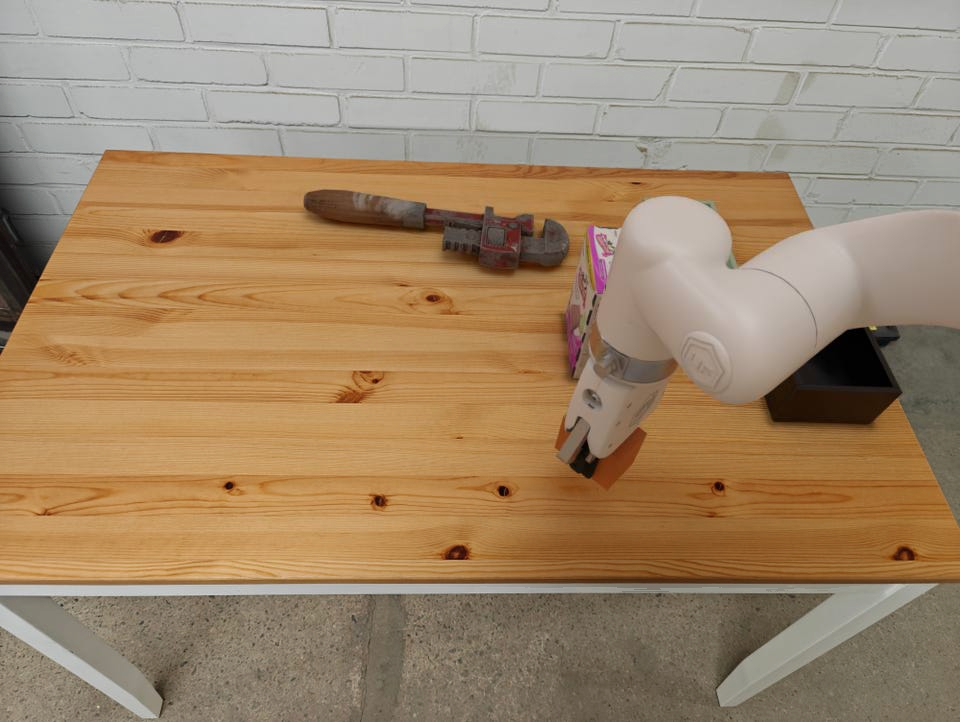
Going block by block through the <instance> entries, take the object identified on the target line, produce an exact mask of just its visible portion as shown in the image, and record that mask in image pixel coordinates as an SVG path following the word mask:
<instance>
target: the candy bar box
mask: <svg viewBox="0 0 960 722" xmlns="http://www.w3.org/2000/svg"><path fill="white" fill-rule="evenodd" d="M621 228H622V227H612V226H611V227H610V226H601V227H600V226H598V225H589V226H587V225H586V228H585V233H584V237H583V241H582V246H581V250H580V254H579V258H578V262H577V267H576V272H575V276H574V280H573V283H572V284H573V285H572V288H571V292H570V296H569V300H568V305H567V308H566V312H565V323H566V325H565V326H566V334H567V345H568V346H567V347H568V355H569V356H568V357H569V368H570V379H573V380H579V379H580V376H581V374H582V372H583V370H584V368H585V365H586V363H587V361H588V359H589V357H590V353H589V339H590V335H591V332H592V329H593V325H594V322H595V318H596V315H597V311H598V308H599V304H600V301H601V297H602V294H603V290H604V287H605V283H606V280H607V276H608V273H609V269H610V266H611V262H612V259H613V255H614V252H615V248H616V245H617V242H618V238H619V235H620V231H621Z"/></svg>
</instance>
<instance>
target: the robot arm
mask: <svg viewBox="0 0 960 722" xmlns="http://www.w3.org/2000/svg"><path fill="white" fill-rule="evenodd" d="M650 198H651V199H648V200H646V201H644V202H640V203H639V204H637V205H636V206H635V207H633V208H632V209H631V211H630V212H629V213H628V215H627V216H626V217H625V219H624V221H623V223H622V226H621V227H620V228H621V231H620V235H619V238H618V242H617V245H616V248H615V252H614V255H613V259H612V262H611V266H610V269H609V273H608V276H607V280H606V283H605V287H604V290H603V294H602V297H601V301H600V304H599V308H598V311H597V315H596V318H595V322H594V325H593V329H592V332H591V335H590V339H589V353H590V357H589V359H588V361H587V363H586V365H585V368H584V370H583V372H582V374H581V376H580V379H578V381H577V383H576V386H575V388H574V391H573V394H572V397H571V399H570V401H569V405H568V408H567V411H566V413H565V414H566V419H565V431H566V432H571V431H572V432H571V433H570V435H569V437H568V438H567V440H566V441H565V443H564V444H563V446H562V447H561V449H560V450H559V451H558V452H557V453H556V455H555V457H556V458H557V459H558V460H559V461H561V462H562V463H563V464H564V465H566V466H569V467H570V469H571V470H572V471H573V472H575V473H576V474H579V475H580V474H581V475H582V476H583V477H585V478H586V479H587V480H590V479H592V478H591V477H592V476H593V474H594V472H595V469H596V466H597V464H598V461H599V459H600V458H605V457H607V456H609V455H610V454H611V453H612V452H613V451H614V450H615V449H617V448H618V447H619V446H620V445H621V444H622V443H623V442H624V441H625V440H626V439H627V438H628V437H629V436H630V435H631V434H632V433H633V432H634V431H635V430H636V429H637V428H638V427H639V428H640V426H641V425H642V424H643V423H644V422H645V420H647V419H648V418H649V417H650V416H651V415H652V414H653V412H654V411H655V410H656V409H657V408H658V406H659V405H660V404H661V402H662V400H663V397H664V395H665V392H666V390H667V387H668V385H669V383H670V380H671V378H672V376H673V375H674V374H675V373H676V371H677V368H678V366H679V367H680V369H681V370H682V371H683V372H684V374H685V375H686V376H687V377H688V378H689V379H690V380H691V382H692V383H693V384H694V385H695V386H696V387H697V388H698V389H700V390H701V391H702V392H703V393H704V394H705V395H707V396H709V397H710V398H711V399H713V400H715V401H717V402H719V403H722V404H726V405H731V406H742V405H747V404H751V403H754V402H756V401H758V400H759V399H761V398H764V397H765V395H766V394H768V393H769V392H770V391H772V390H773V389H774V388H775V387H777V386H778V385H779V384H780V383H781V382H783V381H784V380H785V379H786V378H788V377H789V376H790V375H791V374H792V373H794V372H795V371H796V370H797V369H799V368H800V367H801V366H802V365H803V364H805V363H806V362H807V361H808V360H809V359H811V358H812V357H813V356H814V355H815V354H817V353H818V352H819V351H820V350H822V349H823V348H824V347H825V346H827V345H828V344H829V343H830V342H832V341H833V340H834V339H835V338H837V337H838V336H839V335H841V334H842V333H843V332H845V331H846V330H848V329H854V328H861V327H870V328H871V327H889V326H890V327H892V326H935V327H945V328H951V329H955V330H958V331H960V210H952V209H950V210H949V209H920V210H908V211H900V212H895V213H888V214H883V215H878V216H871V217H866V218H861V219H857V220H851V221H845V222H841V223H835V224H831V225H826V226H821V227H817V228H812V229H809V230H806V231H802V232H800V233H796V234H794V235H791V236H789V237H786V238H784V239H782V240H780V241H778V242H777V243H775V244H773V245H771V246H769V247H768V248H766V249H765V250H763V251H761V252H760V253H758V254H756V255H755V256H753V257H752V258H750V259H749V260H747V261H746V262H745V263H743V264H742V265H740V266H738V268H737V269H729V268H728V267H727V266H726V265H727V262H728V260H729V257H730V255H731V250H732V251H733V236H732V233H731V231H730V227H729V226H728V224H727V222H726V221H725V219H724V218H723V217H722V215H720V214H719V212H718V213H716V212H715V211H714V210H713V209H711V208H710V207H708V206H707V205H705V204H703V203H701V202H699V201H696V200H697V199H693V198H689V197H686V196H679V195H661V196H657V197H650ZM586 439H587V441H588V444H587V443H586V442H585V440H586Z"/></svg>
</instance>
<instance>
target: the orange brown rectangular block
mask: <svg viewBox="0 0 960 722" xmlns="http://www.w3.org/2000/svg"><path fill="white" fill-rule="evenodd" d="M566 414H567V413H565V414H564V415H563V416H562V420H561V423H560V425H559V426H560V427H559V430H558V434H557V437H556V440H555V444H554V449H556V450H557V451H558V452H559V450H560V449H561V447H562V446H563V444H564V443H565V441H566V440H567V438H568V437H569V435H570V433H571V432H572V431H571V432H566V431H565V419H566ZM647 435H648V432H646V431H645V430H643V429H642V428H641V427H640V426H639V427H638V428H637V429H636V430H635V431H634V432H633V433H632V434H631V435H630V436H629V437H628V438H627V439H626V440H625V441H624V442H623V443H622V444H621V445H620V446H619V447H618V448H617V449H615V450H614V451H613V452H612V453H611V454H610V455H609V456H607V457H605V458H600V459H599V461H598V464H597V466H596V469H595V472H594V474H593V476H592V477H591V478H590V479H592V480H593V481H594V482H595V483H596V484H598V485H599V486H600V487H601V488H603V489H604V490H605V491H608V490H609V489H610V488H612V486H614V484H615V483H616V482H617V481H618V480H620V478H621V477H622V476H623V475H624V474H625V473H626V472H627V470H628V469H629V468H631V466H632V465H633V464H634V462H635V461H636V458H637V456H638V454H639V451H640V450H641V448H642V446H643V443H644V441H645V439H646V438H647ZM585 442H586V443H587V444H588V441H587V439H586V440H585Z"/></svg>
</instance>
